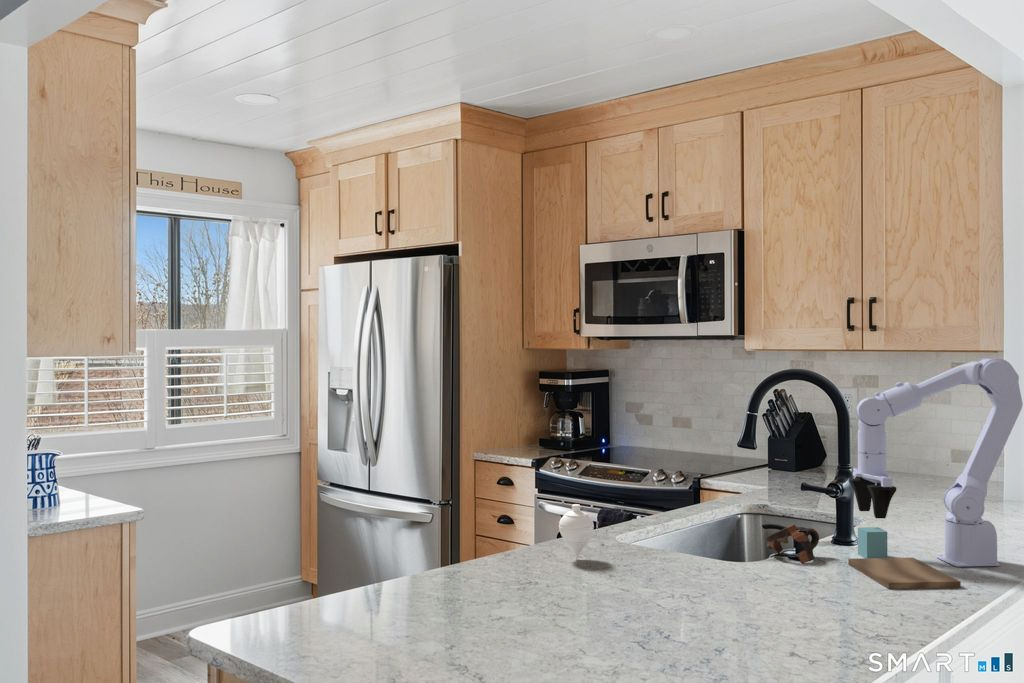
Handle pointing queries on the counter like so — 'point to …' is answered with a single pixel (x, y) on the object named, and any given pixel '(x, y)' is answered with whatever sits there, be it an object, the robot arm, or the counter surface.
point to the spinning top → (576, 529)
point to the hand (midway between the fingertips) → (872, 514)
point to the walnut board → (903, 573)
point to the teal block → (872, 542)
